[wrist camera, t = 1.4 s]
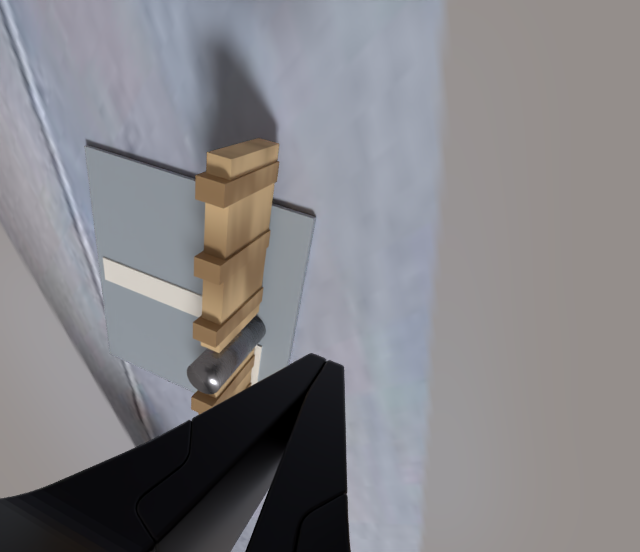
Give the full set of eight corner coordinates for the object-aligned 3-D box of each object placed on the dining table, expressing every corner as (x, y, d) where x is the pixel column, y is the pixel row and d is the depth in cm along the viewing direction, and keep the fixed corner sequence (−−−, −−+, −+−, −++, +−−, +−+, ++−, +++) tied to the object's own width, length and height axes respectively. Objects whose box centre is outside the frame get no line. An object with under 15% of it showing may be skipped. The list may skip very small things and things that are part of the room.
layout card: (277, 426, 26) (274, 430, 26) (113, 351, 29) (108, 354, 29) (316, 216, 19) (313, 219, 18) (89, 145, 22) (82, 146, 21)
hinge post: (266, 341, 23) (218, 399, 19) (239, 330, 24) (186, 385, 19) (270, 317, 22) (219, 372, 18) (242, 306, 23) (186, 358, 19)
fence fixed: (246, 422, 26) (208, 478, 22) (230, 415, 26) (190, 469, 23) (255, 348, 23) (212, 400, 19) (237, 341, 23) (191, 390, 19)
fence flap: (260, 312, 21) (214, 360, 18) (241, 305, 22) (192, 350, 18) (281, 144, 17) (226, 162, 13) (256, 137, 17) (196, 153, 14)
